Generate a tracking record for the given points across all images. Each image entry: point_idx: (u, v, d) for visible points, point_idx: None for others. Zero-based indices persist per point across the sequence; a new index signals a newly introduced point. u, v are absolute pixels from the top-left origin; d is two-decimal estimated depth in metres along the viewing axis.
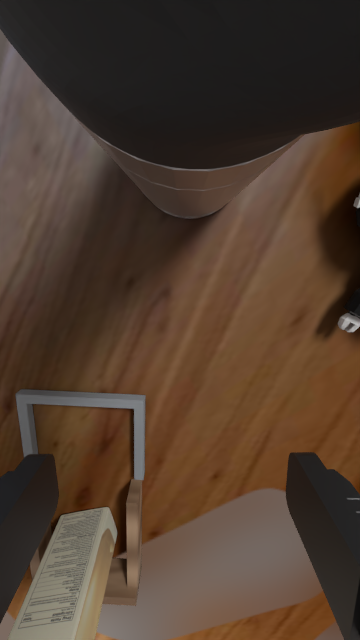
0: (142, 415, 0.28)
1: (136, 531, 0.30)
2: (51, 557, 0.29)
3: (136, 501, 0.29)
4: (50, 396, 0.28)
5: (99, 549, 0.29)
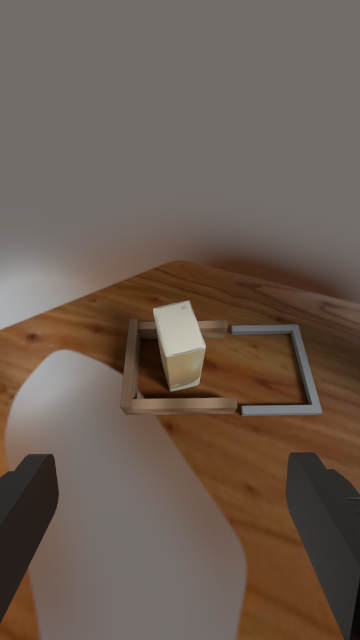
0: (308, 411, 0.35)
1: (204, 406, 0.34)
2: None
3: None
4: (303, 345, 0.40)
5: (199, 373, 0.34)
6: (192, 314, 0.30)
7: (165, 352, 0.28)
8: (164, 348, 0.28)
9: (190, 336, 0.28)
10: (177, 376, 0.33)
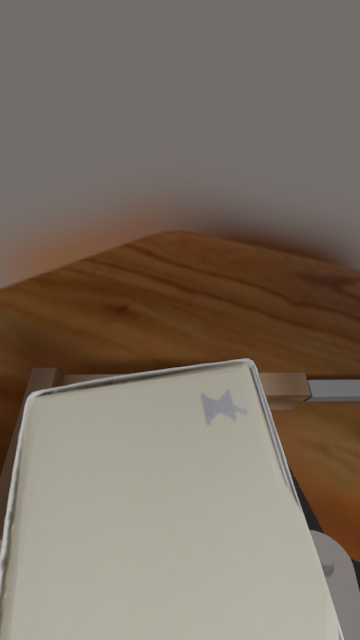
0: None
1: None
2: None
3: None
4: None
5: None
6: (277, 472, 0.04)
7: None
8: None
9: None
10: None
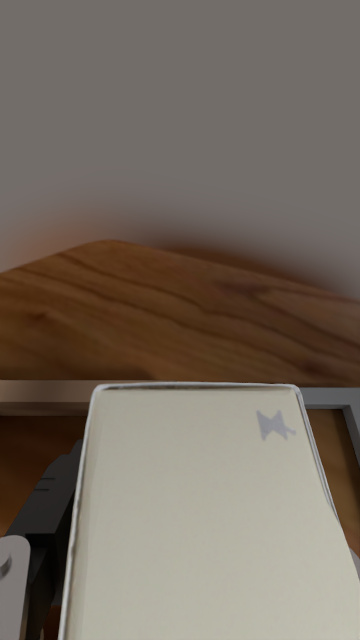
0: None
1: None
2: None
3: None
4: None
5: None
6: (321, 491, 0.05)
7: None
8: None
9: None
10: None
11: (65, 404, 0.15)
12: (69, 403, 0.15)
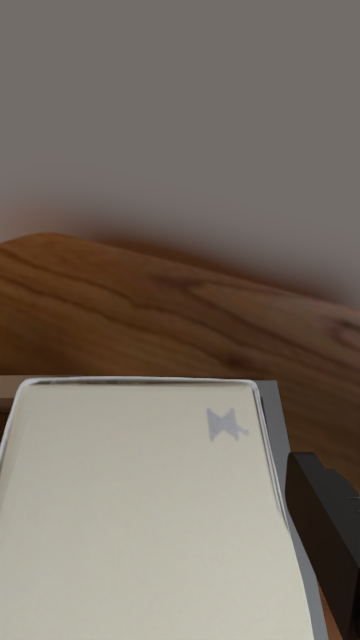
0: None
1: None
2: None
3: None
4: (289, 445, 0.15)
5: None
6: (271, 496, 0.04)
7: None
8: None
9: None
10: None
11: None
12: None
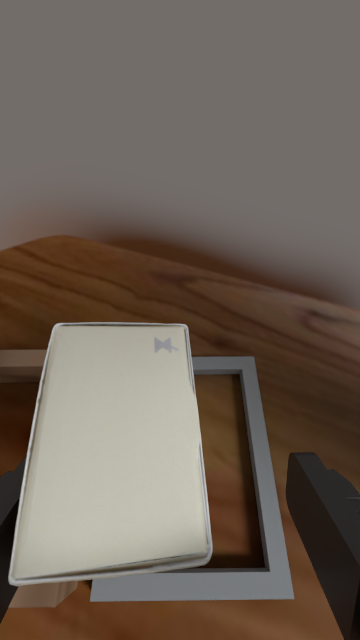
0: (258, 595, 0.14)
1: None
2: None
3: (58, 600, 0.12)
4: (261, 404, 0.19)
5: None
6: (187, 379, 0.08)
7: (17, 551, 0.06)
8: (22, 524, 0.06)
9: (156, 483, 0.07)
10: None
11: (5, 369, 0.18)
12: (7, 367, 0.18)
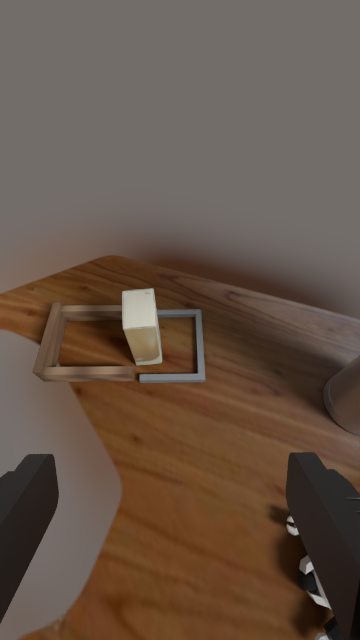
0: (193, 379, 0.42)
1: (104, 373, 0.41)
2: None
3: (131, 373, 0.41)
4: (201, 326, 0.47)
5: (158, 351, 0.41)
6: (152, 299, 0.36)
7: (123, 325, 0.34)
8: (123, 322, 0.35)
9: (146, 316, 0.35)
10: (138, 350, 0.40)
11: (101, 312, 0.47)
12: (102, 311, 0.47)
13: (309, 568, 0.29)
